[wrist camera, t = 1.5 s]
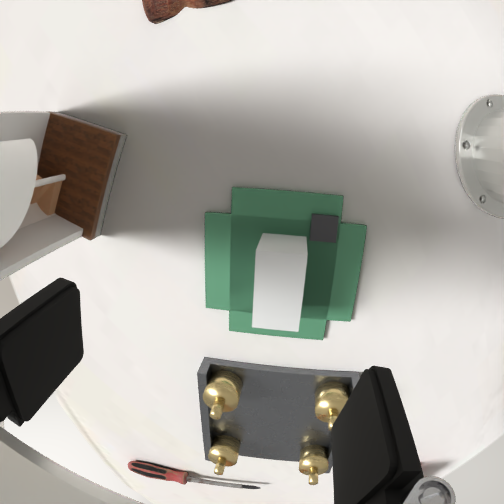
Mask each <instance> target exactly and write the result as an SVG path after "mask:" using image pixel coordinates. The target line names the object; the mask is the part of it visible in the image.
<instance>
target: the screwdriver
mask: <svg viewBox="0 0 504 504" xmlns="http://www.w3.org/2000/svg"><path fill="white" fill-rule="evenodd" d="M128 468H129V469H130V470H131V471H133V472H135V473H138V474H140V475H143V476H146V477H149V478H155V479H162V480H167V481H176V482H179V483H181V484H186V483H187V481H188V482H197V483H204V484H211V485H218V486H226V487H234V488H247V489H260V487H257V486H249V485H242V484H233V483H224V482H217V481H210V480H204V479H199V478H194V477H191V476H188V473H187V472H177V471H173V470H171V469H168V468H164V467H160V466H158V465H154V464H150V463H144V462H138V461H131V462H129V463H128Z"/></svg>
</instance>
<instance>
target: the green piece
mask: <svg viewBox="0 0 504 504" xmlns="http://www.w3.org/2000/svg"><path fill="white" fill-rule="evenodd" d="M342 206H343V196H341V195H331V194H321V193H310V192H298V191H286V190H272V189H257V188H240V187H232V204H231V213H215V212H206V213H205V292H206V308H213V309H221V310H229V331H236V332H244V333H253V334H262V335H271V336H282V337H292V338H304V339H317V340H323V337H324V332H325V326H326V321H327V320H335V321H351V316H352V311H353V306H354V301H355V296H356V291H357V285H358V280H359V274H360V268H361V262H362V256H363V250H364V243H365V237H366V229H367V226H366V225H360V224H350V223H341V215H342Z"/></svg>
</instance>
